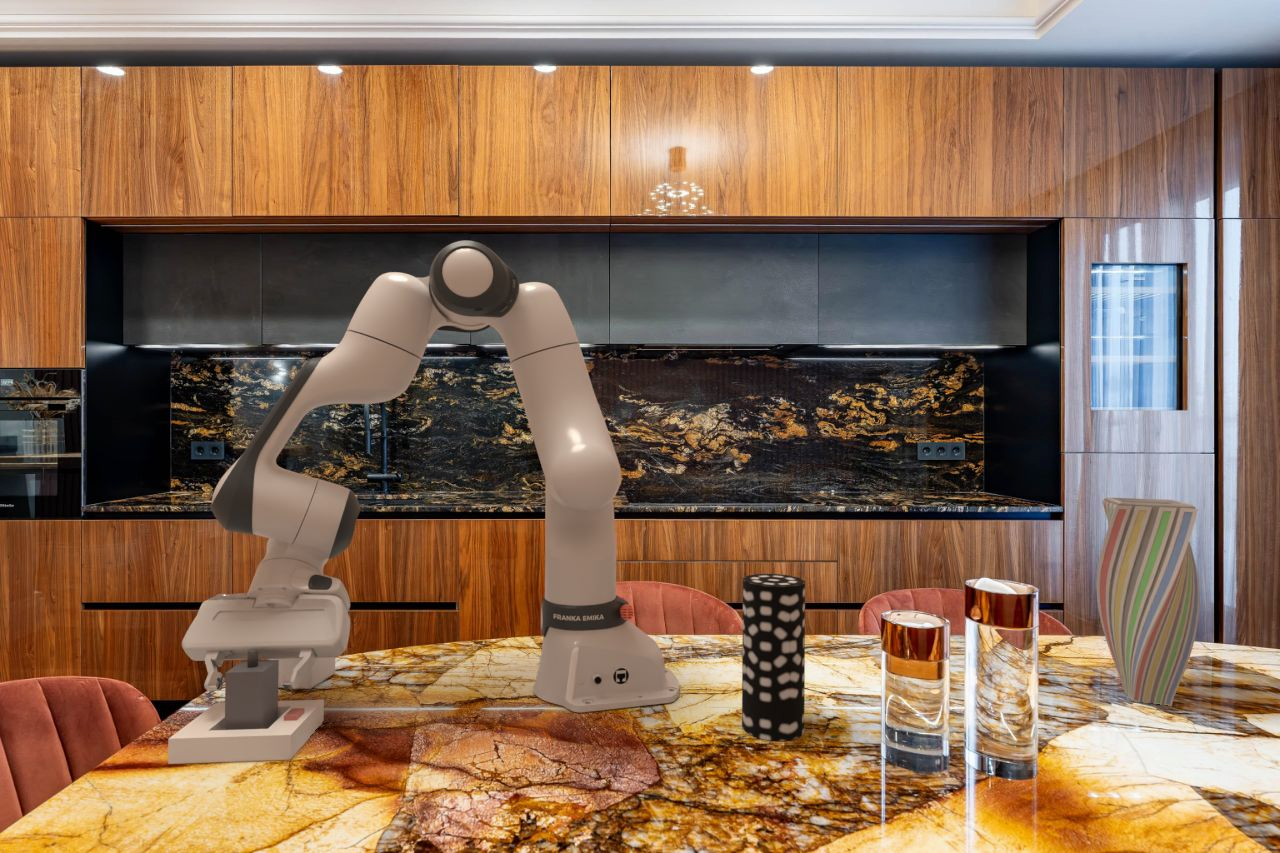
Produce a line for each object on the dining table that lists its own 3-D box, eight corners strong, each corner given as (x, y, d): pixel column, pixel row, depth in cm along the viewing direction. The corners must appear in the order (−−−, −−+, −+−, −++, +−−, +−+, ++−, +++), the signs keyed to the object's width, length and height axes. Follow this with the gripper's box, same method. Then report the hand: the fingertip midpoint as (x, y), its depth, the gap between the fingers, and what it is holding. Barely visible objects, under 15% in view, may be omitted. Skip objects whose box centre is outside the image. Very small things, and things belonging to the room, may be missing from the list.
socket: (323, 721, 94) (323, 695, 95) (290, 759, 84) (290, 729, 84) (216, 725, 93) (216, 698, 93) (168, 764, 82) (168, 733, 82)
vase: (1105, 707, 101) (1105, 503, 102) (1085, 677, 114) (1085, 495, 114) (1219, 722, 96) (1219, 507, 97) (1185, 689, 109) (1185, 499, 109)
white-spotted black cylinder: (809, 721, 96) (810, 577, 96) (797, 746, 88) (797, 589, 88) (751, 711, 99) (752, 571, 99) (734, 733, 92) (735, 582, 92)
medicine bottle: (336, 673, 113) (336, 600, 113) (311, 689, 106) (312, 611, 106) (294, 671, 114) (295, 599, 114) (267, 687, 107) (268, 610, 107)
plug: (277, 728, 91) (278, 644, 91) (262, 743, 86) (263, 655, 86) (241, 729, 90) (243, 645, 91) (224, 745, 86) (225, 656, 86)
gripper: (198, 582, 95) (153, 678, 85) (352, 579, 97) (326, 674, 87) (214, 606, 99) (174, 701, 89) (361, 603, 101) (338, 696, 91)
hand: (250, 688), depth 88 cm, fingers open, 8 cm apart
